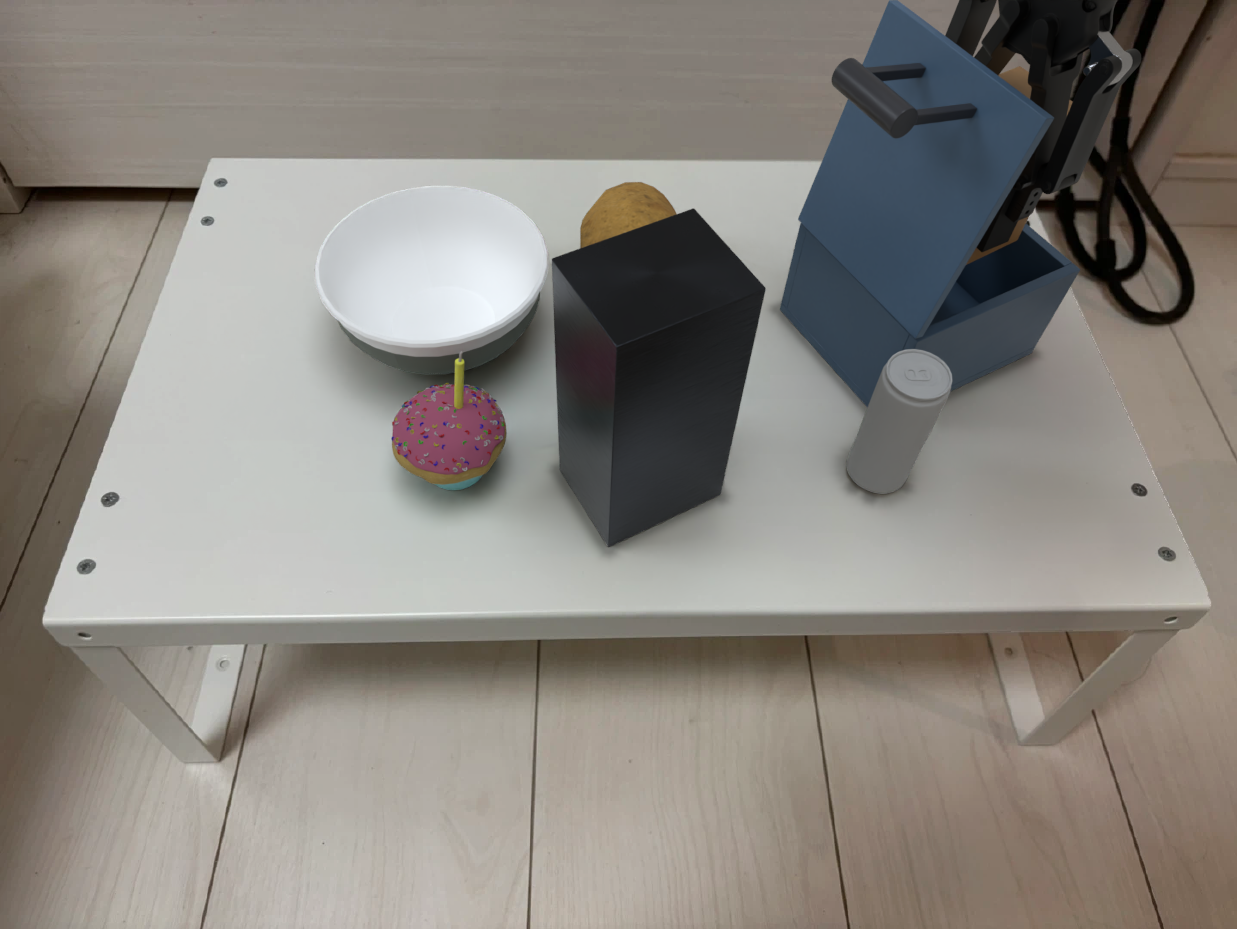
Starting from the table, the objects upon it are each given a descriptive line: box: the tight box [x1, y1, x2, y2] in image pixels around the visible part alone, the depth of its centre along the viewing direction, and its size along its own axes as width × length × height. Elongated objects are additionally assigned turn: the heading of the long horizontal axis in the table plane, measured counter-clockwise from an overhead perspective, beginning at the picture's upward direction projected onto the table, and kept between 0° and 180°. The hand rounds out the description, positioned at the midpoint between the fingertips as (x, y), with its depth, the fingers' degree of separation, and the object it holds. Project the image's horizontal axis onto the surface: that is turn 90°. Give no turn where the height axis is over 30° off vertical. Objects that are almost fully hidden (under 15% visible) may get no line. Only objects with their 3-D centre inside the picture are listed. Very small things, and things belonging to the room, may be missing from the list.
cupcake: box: [391, 351, 507, 491], centre depth 68 cm, size 9×8×12 cm
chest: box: [779, 222, 1081, 408], centre depth 79 cm, size 17×15×10 cm
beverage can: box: [845, 349, 952, 495], centre depth 69 cm, size 5×5×12 cm
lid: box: [797, 0, 1054, 339], centre depth 63 cm, size 18×15×8 cm
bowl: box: [313, 185, 550, 375], centre depth 78 cm, size 19×19×8 cm
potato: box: [579, 181, 677, 249], centre depth 81 cm, size 10×13×9 cm
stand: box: [551, 207, 767, 548], centre depth 63 cm, size 8×10×22 cm
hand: (962, 217), depth 73 cm, fingers closed on package, 6 cm apart
